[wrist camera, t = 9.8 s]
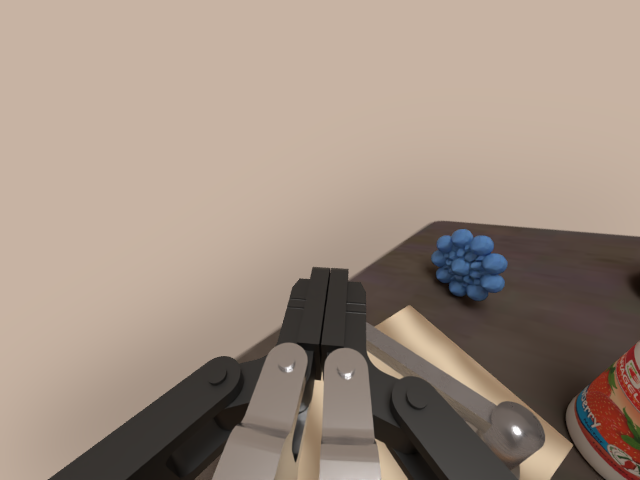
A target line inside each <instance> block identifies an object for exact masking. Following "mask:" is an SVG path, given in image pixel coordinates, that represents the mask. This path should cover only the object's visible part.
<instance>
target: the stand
mask: <svg viewBox="0 0 640 480" xmlns="http://www.w3.org/2000/svg"><path fill="white" fill-rule="evenodd" d="M375 328H376V329H378V330H380V331H381V332H383V333H384V334H386V335H387V336H389V337H390V338H392V339H394V340H395V341H397V342H398V343H400V344H401V345H403V346H405V347H406V348H408V349H409V350H411V351H412V352H414V353H416V354H417V355H419V356H420V357H422V358H423V359H425V360H426V361H428V362H430V363H431V364H433V365H434V366H436V367H437V368H439V369H441V370H442V371H444V372H445V373H447V374H448V375H450V376H452V377H453V378H455V379H456V380H458V381H459V382H461V383H463V384H464V385H466V386H467V387H469V388H470V389H472V390H473V391H475V392H477V393H478V394H480V395H481V396H483V397H484V398H486V399H488V400H489V401H491V402H492V403H494V404H495V405H498V404H499V403H501V402H505V401H511V402H515V403H518V404H520V405H522V406H524V407H526V408H527V409H528V410H530V411H531V412H532V413H533V414H534V415H535V416H536V417H537V419H538V420H539V421H540V423H541V425H542V427H543V429H544V432H545V443H544V445H543V447H542V448H540V449H539V450H538V451H536V452H535V453H534V454H533V455H531V456H530V457H529V458H527V459H526V460H525V461H523V462H522V463H521V464H519V465H520V479H519V480H550V478H551V477H552V476H553V474H554V473H555V471H556V470H557V468H558V467H559V465H560V464H561V462H562V461H563V460H564V458H565V457H566V455H567V454H568V452H569V451H570V449H571V448H572V447H573V444H572V443H570V442H569V441H568V440H567V439H566V438H565V437H563V436H562V435H561V434H560V433H559V432H558V431H556V430H555V429H554V428H553V427H552V426H551V425H549V424H548V423H547V422H546V421H545V420H544V419H542V418H541V417H540V416H539V415H538V414H537V413H535V412H534V411H533V410H532V409H531V408H530V407H528V406H527V405H526V404H525V403H524V402H523V401H521V400H520V399H519V398H518V397H517V396H515V395H514V394H513V393H512V392H511V391H510V390H508V389H507V388H506V387H505V386H504V385H503V384H501V383H500V382H499V381H498V380H497V379H496V378H494V377H493V376H492V375H491V374H490V373H489V372H487V371H486V370H485V369H484V368H483V367H482V366H480V365H479V364H478V363H477V362H476V361H475V360H473V359H472V358H471V357H470V356H469V355H468V354H466V353H465V352H464V351H463V350H462V349H461V348H459V347H458V346H457V345H456V344H455V343H454V342H452V341H451V340H450V339H449V338H448V337H447V336H445V335H444V334H443V333H442V332H441V331H440V330H438V329H437V328H436V327H435V326H434V325H433V324H431V323H430V322H429V321H428V320H427V319H426V318H424V317H423V316H422V315H421V314H420V313H418V312H417V311H416V310H415V309H414V308H413V307H411V306H410V305H409V306H407V307H405V308H404V309H402V310H401V311H399V312H398V313H396V314H394V315H393V316H391V317H390V318H388V319H387V320H385V321H383V322H382V323H380V324H379V325H377V326H375ZM367 354H368V357H369V359H370V361H371V362H372V363H373V365H374V366H375V367H377V368H378V369H379V370H381V371H382V372H384V373H386V374H389V375H391V376H393V377H395V378H398V379H401V378H403V376H402V375H401V374H399V373H398V372H396V371H395V370H393V369H392V368H391V367H389V366H388V365H386V364H385V363H384V362H382V361H381V360H379V359H378V358H376V357H375V356H374V355H372V354H371V353H369V352H368V351H367ZM323 391H324V381H323V372H322V377H321V381H320V380H315V382H314V389H313V396H312V402H311V407H310V412H309V417H308V422H307V427H306V431H305V436H304V441H303V446H302V451H301V455H300V460H299V467H298V478H297V480H319V475H320V450H321V439H322V419H323ZM375 441H376V443H377V446H378V452H379V460H380V470H381V480H408V478H407V477H406V476H405V474H404V473H403V471H402V470H401V468H400V467H399V465H398V464H397V462H396V461H395V459H394V458H393V456H392V455H391V453H390V452H389V450H388V449H387V447H386V445H385V444H384V443H383V442H381V441H379V440H377V439H375Z"/></svg>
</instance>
